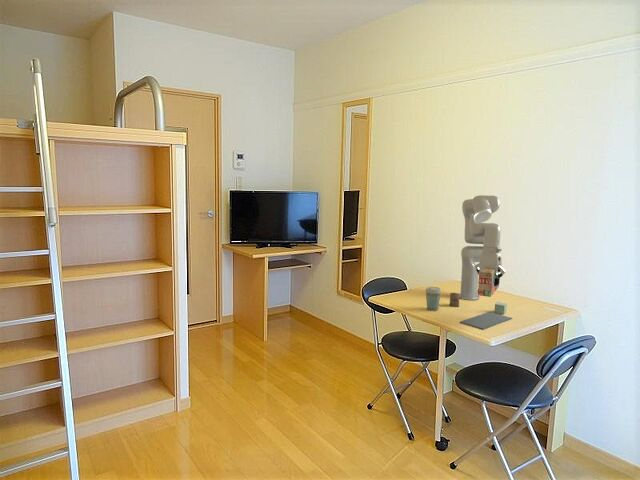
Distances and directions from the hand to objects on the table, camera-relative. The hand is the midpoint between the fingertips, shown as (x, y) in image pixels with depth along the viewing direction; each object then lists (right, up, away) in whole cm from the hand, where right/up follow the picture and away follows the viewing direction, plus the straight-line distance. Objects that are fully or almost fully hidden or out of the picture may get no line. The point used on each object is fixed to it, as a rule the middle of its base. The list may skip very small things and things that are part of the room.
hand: (488, 283), depth 228 cm
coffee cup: (-23, -16, +21) cm, 35 cm away
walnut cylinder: (-9, -15, +29) cm, 34 cm away
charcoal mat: (0, -19, +3) cm, 19 cm away
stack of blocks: (0, -4, +1) cm, 4 cm away
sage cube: (+13, -17, +17) cm, 27 cm away
